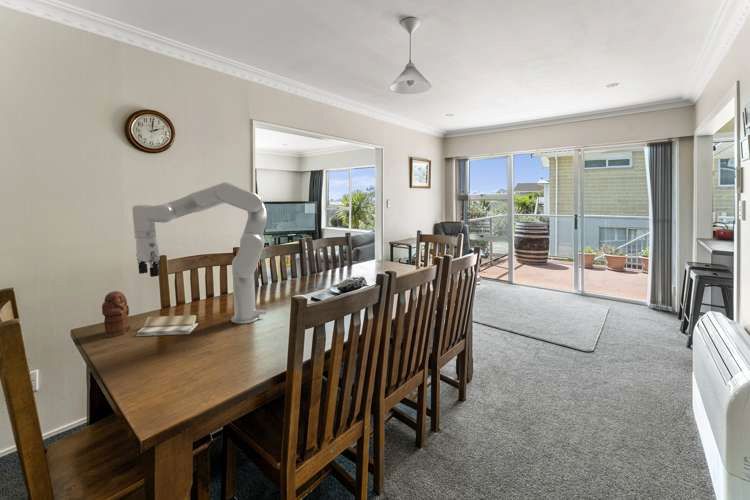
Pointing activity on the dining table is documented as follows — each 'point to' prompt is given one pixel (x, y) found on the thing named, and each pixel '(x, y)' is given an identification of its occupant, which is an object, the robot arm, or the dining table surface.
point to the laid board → (164, 330)
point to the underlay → (172, 334)
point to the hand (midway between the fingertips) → (149, 274)
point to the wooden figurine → (115, 314)
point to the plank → (170, 321)
